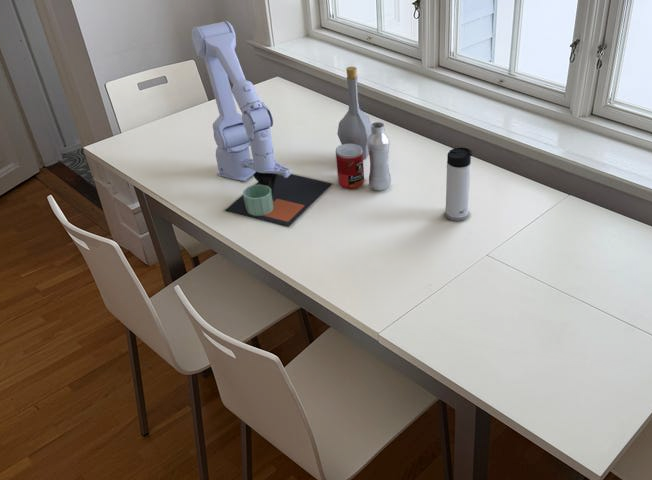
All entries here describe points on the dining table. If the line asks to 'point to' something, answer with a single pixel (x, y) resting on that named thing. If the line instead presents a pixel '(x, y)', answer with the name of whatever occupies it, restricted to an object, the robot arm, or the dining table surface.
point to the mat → (286, 199)
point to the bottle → (354, 118)
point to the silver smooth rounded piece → (378, 157)
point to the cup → (258, 200)
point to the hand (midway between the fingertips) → (269, 193)
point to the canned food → (350, 166)
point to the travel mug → (458, 183)
